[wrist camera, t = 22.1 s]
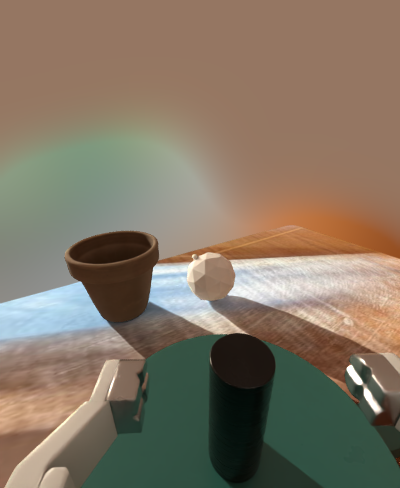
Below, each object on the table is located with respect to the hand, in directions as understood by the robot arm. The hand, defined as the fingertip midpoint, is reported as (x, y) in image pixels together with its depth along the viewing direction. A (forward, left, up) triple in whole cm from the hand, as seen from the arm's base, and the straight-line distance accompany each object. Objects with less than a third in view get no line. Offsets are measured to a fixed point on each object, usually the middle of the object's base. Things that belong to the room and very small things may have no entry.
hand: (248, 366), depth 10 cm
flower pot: (+24, +8, -14) cm, 29 cm away
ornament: (+24, -5, -14) cm, 28 cm away
